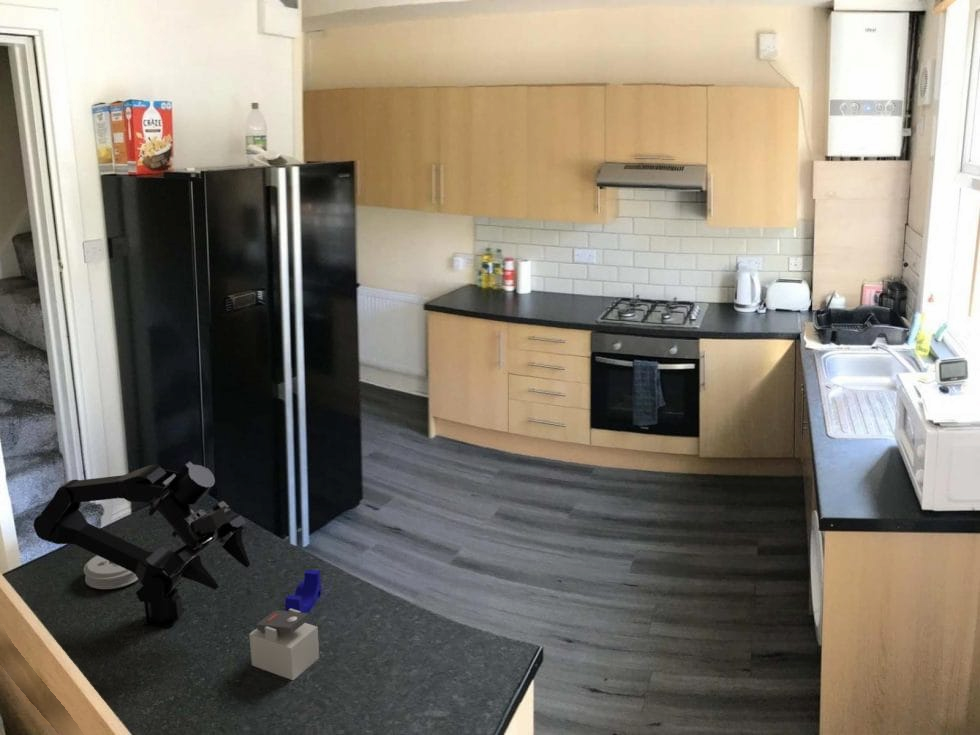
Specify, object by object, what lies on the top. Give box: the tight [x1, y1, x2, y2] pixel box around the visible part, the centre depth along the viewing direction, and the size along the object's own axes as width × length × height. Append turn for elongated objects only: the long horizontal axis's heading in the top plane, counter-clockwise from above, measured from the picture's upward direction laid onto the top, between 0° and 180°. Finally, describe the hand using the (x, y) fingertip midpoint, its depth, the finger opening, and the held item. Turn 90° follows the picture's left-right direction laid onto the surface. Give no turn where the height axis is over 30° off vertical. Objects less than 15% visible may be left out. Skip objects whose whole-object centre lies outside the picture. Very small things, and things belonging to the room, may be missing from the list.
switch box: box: [248, 608, 320, 681], centre depth 180 cm, size 10×8×9 cm
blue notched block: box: [285, 569, 322, 613], centre depth 199 cm, size 12×4×6 cm, turn 169°
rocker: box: [255, 610, 311, 634], centre depth 178 cm, size 8×6×1 cm, turn 62°
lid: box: [83, 555, 139, 590], centre depth 210 cm, size 13×13×5 cm
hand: (233, 577), depth 184 cm, fingers open, 9 cm apart
